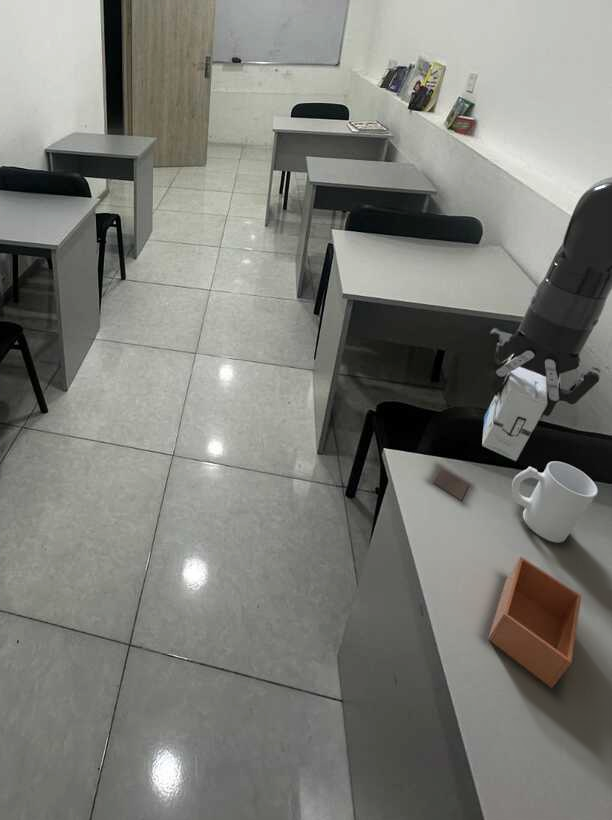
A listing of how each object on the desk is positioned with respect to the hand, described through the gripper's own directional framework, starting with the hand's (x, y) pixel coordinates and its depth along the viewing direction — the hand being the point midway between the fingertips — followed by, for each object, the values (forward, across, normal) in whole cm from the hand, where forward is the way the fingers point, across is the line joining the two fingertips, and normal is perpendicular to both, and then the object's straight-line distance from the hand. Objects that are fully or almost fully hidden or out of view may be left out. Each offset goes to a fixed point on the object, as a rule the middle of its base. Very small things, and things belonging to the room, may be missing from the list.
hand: (517, 402), depth 75 cm
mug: (+26, -9, -8) cm, 28 cm away
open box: (+26, -12, +14) cm, 32 cm away
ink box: (+8, 0, 0) cm, 8 cm away
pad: (+26, +3, -4) cm, 26 cm away
